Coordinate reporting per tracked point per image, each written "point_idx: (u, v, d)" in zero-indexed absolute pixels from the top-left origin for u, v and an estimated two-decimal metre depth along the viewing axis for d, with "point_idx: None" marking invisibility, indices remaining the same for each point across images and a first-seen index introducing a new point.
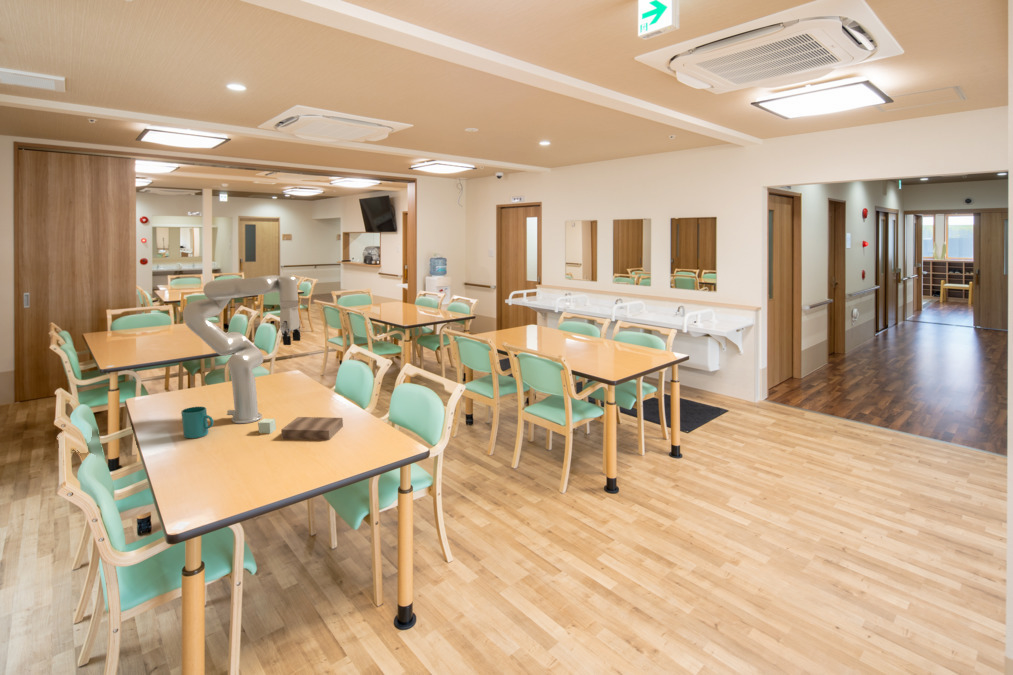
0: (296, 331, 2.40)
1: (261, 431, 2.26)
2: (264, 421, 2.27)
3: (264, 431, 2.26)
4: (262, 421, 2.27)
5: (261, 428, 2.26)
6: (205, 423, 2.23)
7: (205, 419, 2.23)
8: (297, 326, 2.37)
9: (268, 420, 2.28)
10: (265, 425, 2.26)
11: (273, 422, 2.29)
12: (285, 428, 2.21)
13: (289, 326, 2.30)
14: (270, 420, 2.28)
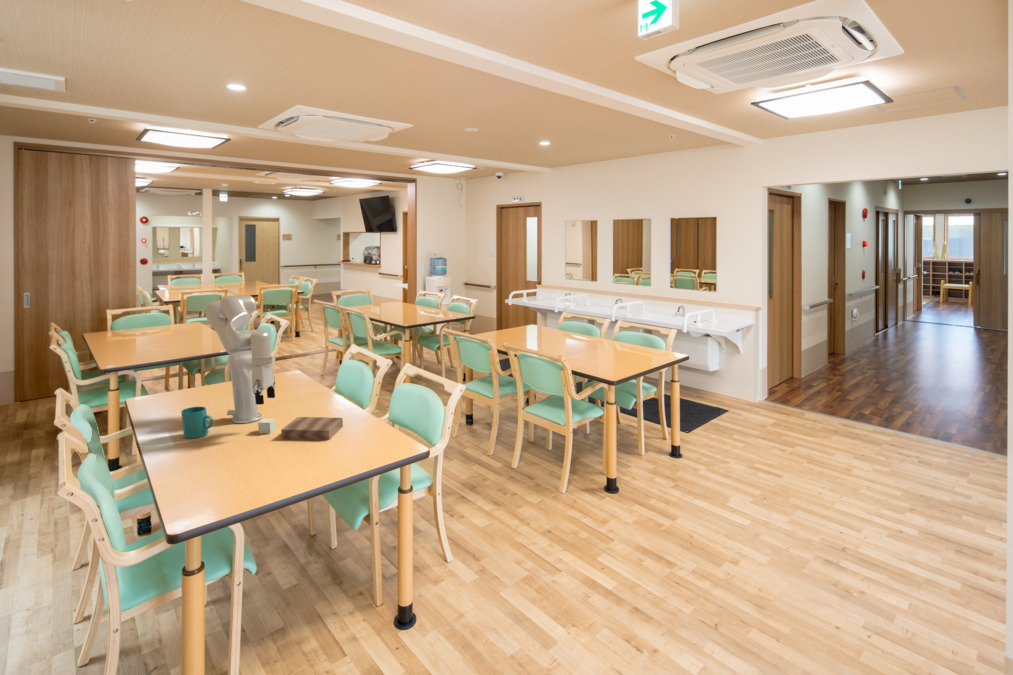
0: (270, 388, 2.30)
1: (261, 431, 2.26)
2: (264, 421, 2.27)
3: (264, 431, 2.26)
4: (262, 421, 2.27)
5: (261, 428, 2.26)
6: (205, 423, 2.23)
7: (205, 419, 2.23)
8: (271, 383, 2.27)
9: (268, 420, 2.28)
10: (265, 425, 2.26)
11: (273, 422, 2.29)
12: (285, 428, 2.21)
13: (261, 385, 2.20)
14: (270, 420, 2.28)
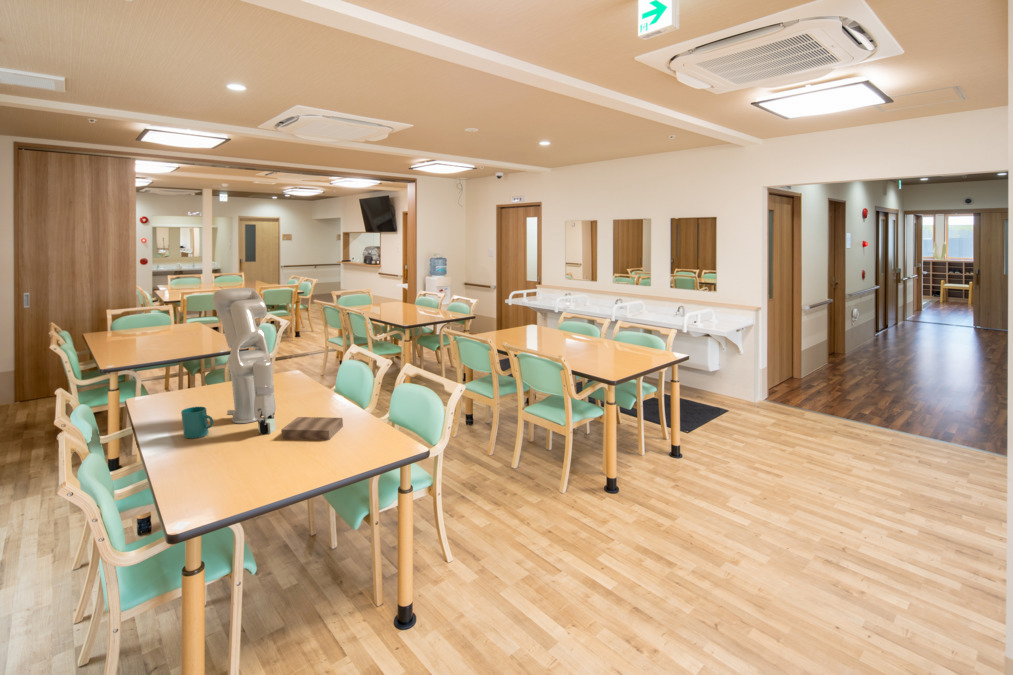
0: None
1: None
2: None
3: None
4: None
5: None
6: (205, 423, 2.23)
7: (205, 419, 2.23)
8: (273, 411, 2.29)
9: (268, 420, 2.28)
10: None
11: (273, 422, 2.29)
12: (285, 428, 2.21)
13: (264, 416, 2.23)
14: (270, 420, 2.28)
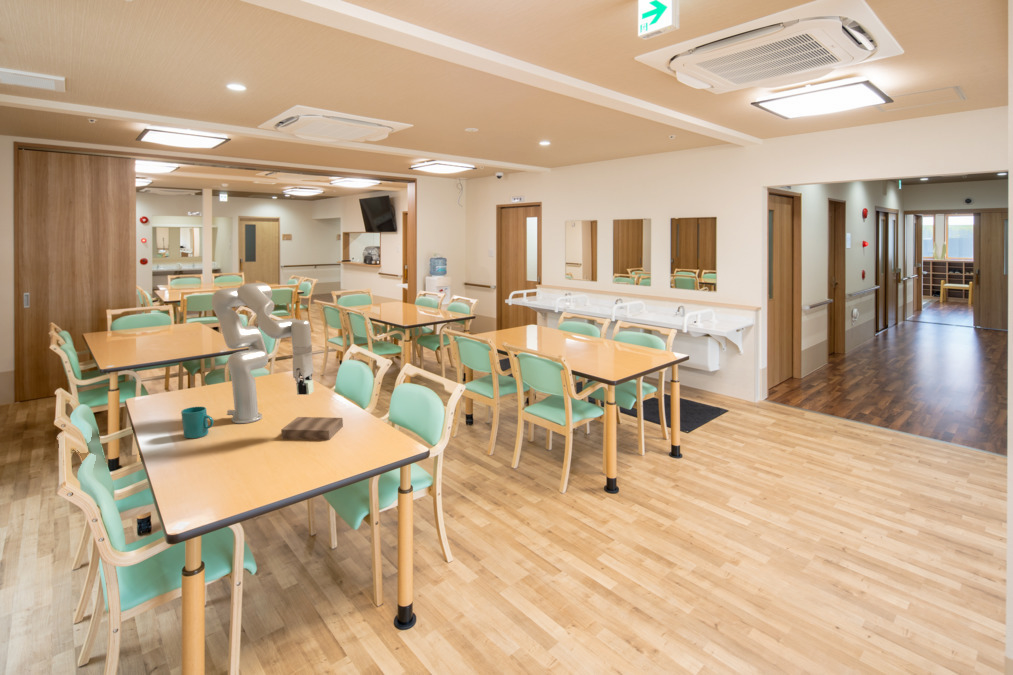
0: None
1: None
2: None
3: None
4: None
5: None
6: (205, 423, 2.23)
7: (205, 419, 2.23)
8: (311, 372, 2.25)
9: (306, 381, 2.24)
10: None
11: (311, 383, 2.25)
12: (285, 428, 2.21)
13: None
14: (308, 381, 2.24)
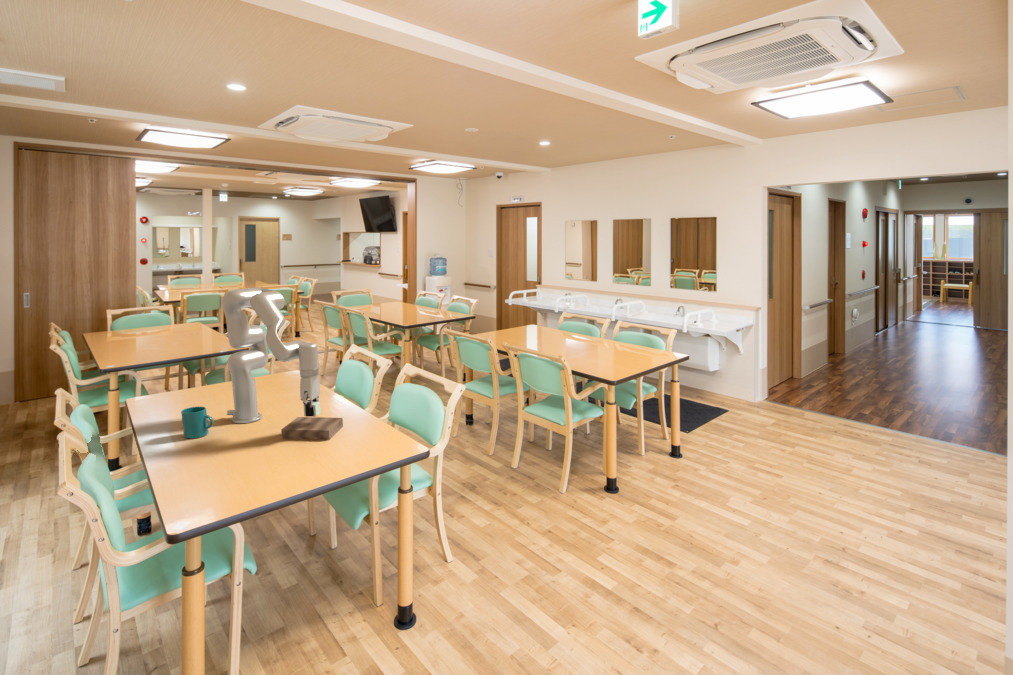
0: None
1: None
2: None
3: None
4: None
5: None
6: (205, 423, 2.23)
7: (205, 419, 2.23)
8: (317, 394, 2.27)
9: (313, 403, 2.26)
10: None
11: (318, 405, 2.27)
12: (285, 428, 2.21)
13: (310, 398, 2.21)
14: (315, 403, 2.26)
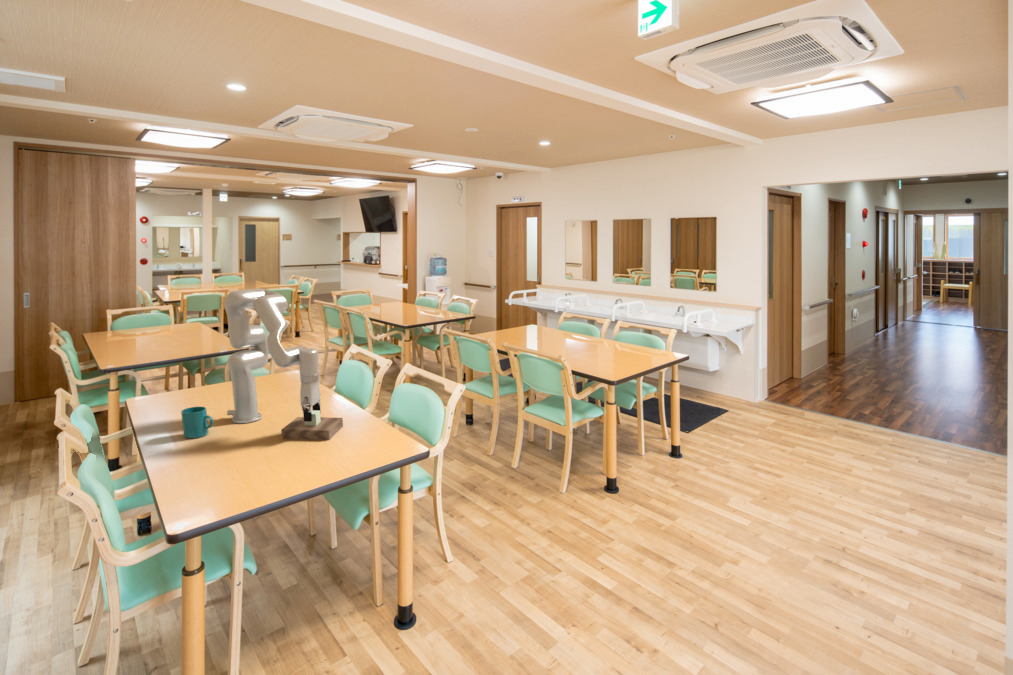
0: (316, 404, 2.30)
1: (307, 423, 2.25)
2: None
3: (310, 423, 2.25)
4: None
5: None
6: (205, 423, 2.23)
7: (205, 419, 2.23)
8: (318, 400, 2.27)
9: (313, 412, 2.27)
10: None
11: (318, 414, 2.27)
12: (285, 428, 2.21)
13: (310, 402, 2.21)
14: (315, 412, 2.27)
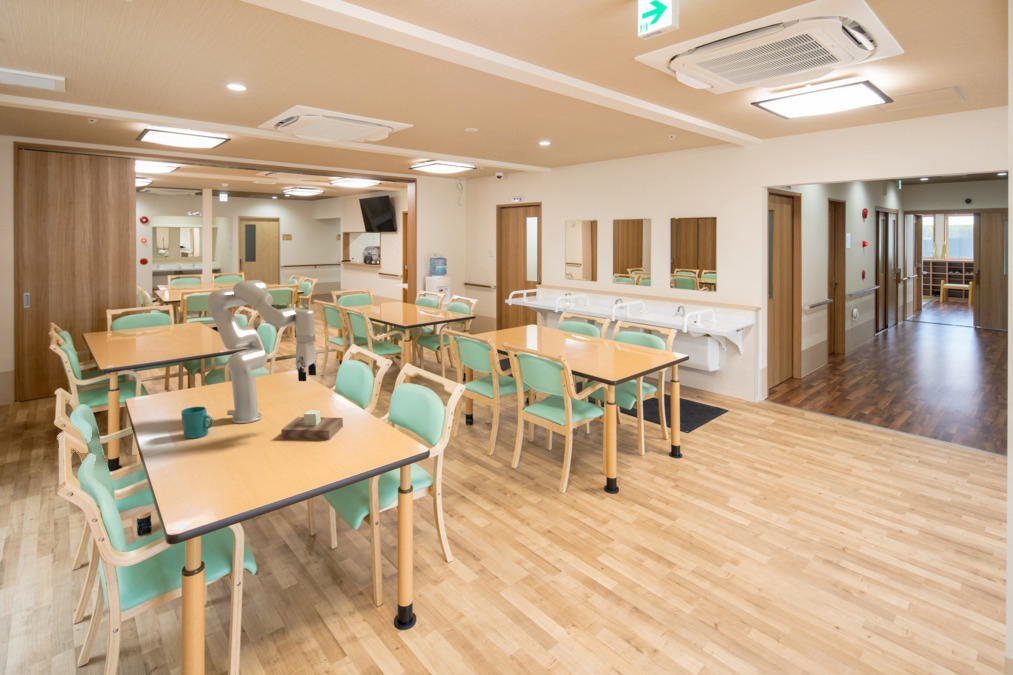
0: (312, 365, 2.32)
1: (307, 423, 2.25)
2: (309, 413, 2.25)
3: (310, 423, 2.25)
4: (307, 413, 2.25)
5: (306, 420, 2.25)
6: (205, 423, 2.23)
7: (205, 419, 2.23)
8: (313, 361, 2.29)
9: (313, 412, 2.27)
10: (311, 417, 2.24)
11: (318, 414, 2.27)
12: (285, 428, 2.21)
13: (305, 362, 2.22)
14: (315, 412, 2.27)
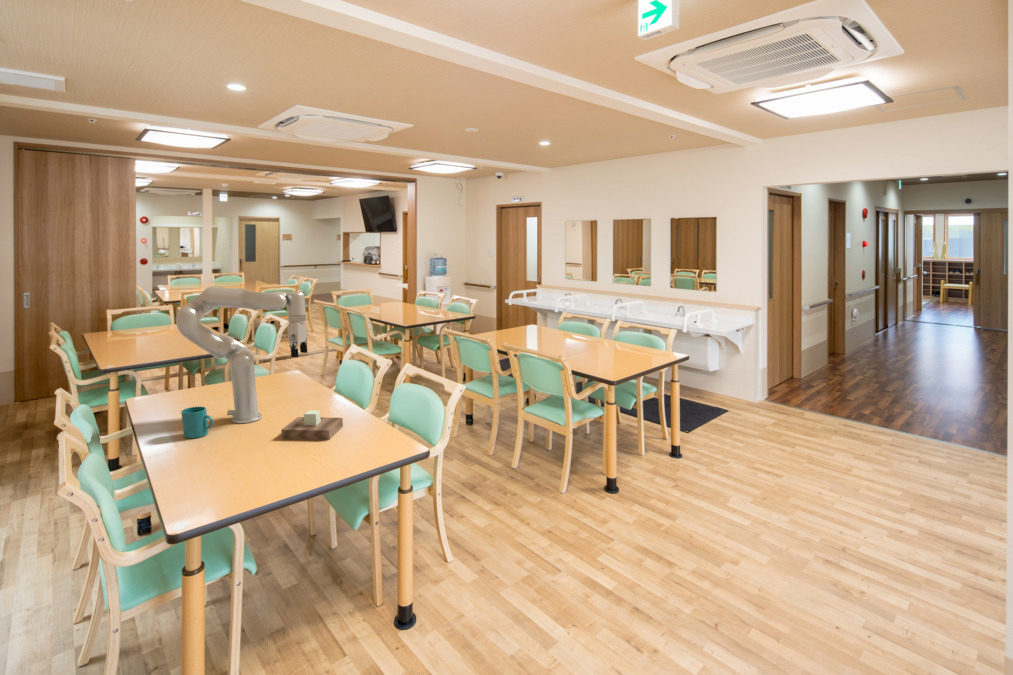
0: (303, 343, 2.52)
1: (307, 423, 2.25)
2: (309, 413, 2.25)
3: (310, 423, 2.25)
4: (307, 413, 2.25)
5: (306, 420, 2.25)
6: (205, 423, 2.23)
7: (205, 419, 2.23)
8: (304, 339, 2.49)
9: (313, 412, 2.27)
10: (311, 417, 2.24)
11: (318, 414, 2.27)
12: (285, 428, 2.21)
13: (297, 339, 2.42)
14: (315, 412, 2.27)
